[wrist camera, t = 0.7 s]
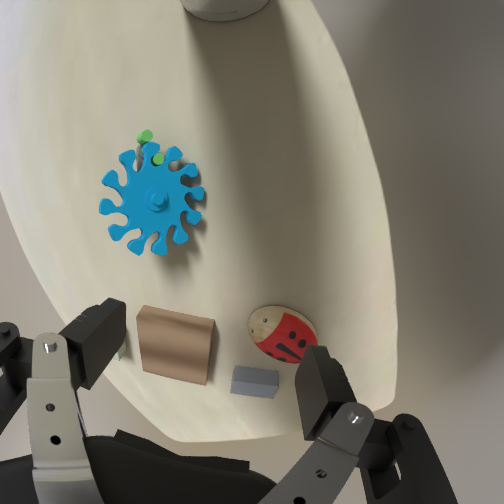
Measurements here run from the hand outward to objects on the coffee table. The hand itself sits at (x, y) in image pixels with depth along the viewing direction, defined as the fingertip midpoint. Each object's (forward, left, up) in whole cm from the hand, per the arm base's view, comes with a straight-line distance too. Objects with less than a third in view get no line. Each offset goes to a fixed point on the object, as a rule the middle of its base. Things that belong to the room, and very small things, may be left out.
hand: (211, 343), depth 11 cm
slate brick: (+22, +5, -17) cm, 28 cm away
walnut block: (+18, -6, -18) cm, 26 cm away
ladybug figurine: (+13, +7, -18) cm, 23 cm away
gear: (-2, -8, -17) cm, 19 cm away
